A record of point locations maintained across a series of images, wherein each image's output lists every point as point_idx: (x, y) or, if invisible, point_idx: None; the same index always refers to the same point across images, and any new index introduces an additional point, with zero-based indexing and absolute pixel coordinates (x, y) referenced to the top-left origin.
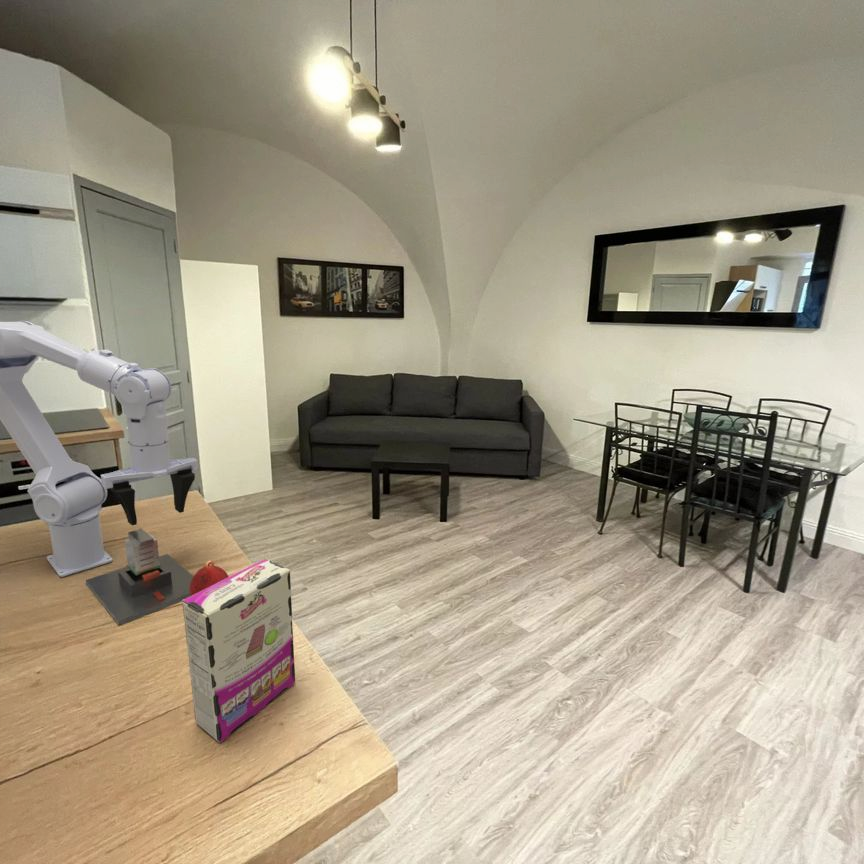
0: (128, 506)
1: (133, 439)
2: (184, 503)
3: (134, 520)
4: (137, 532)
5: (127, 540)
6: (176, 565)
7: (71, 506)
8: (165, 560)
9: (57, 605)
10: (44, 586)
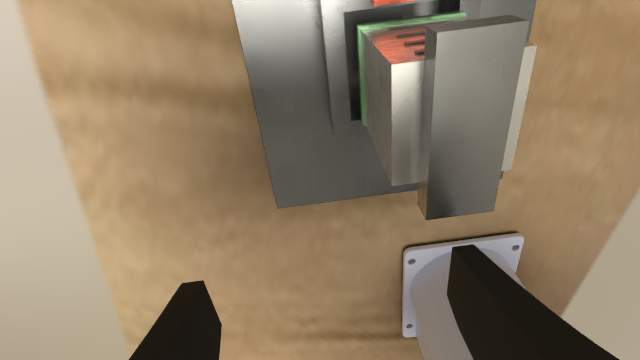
0: (595, 352)
1: None
2: (152, 329)
3: (479, 262)
4: (462, 184)
5: (508, 154)
6: (269, 118)
7: None
8: (292, 171)
9: (593, 100)
10: (559, 213)
